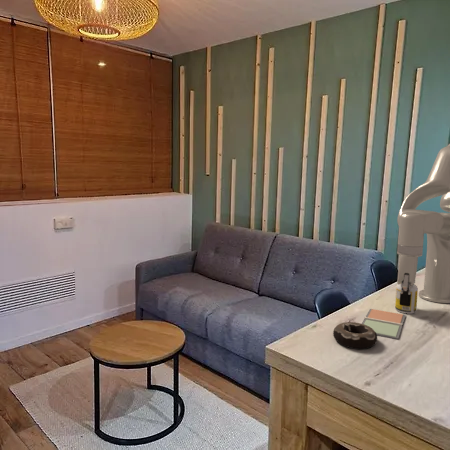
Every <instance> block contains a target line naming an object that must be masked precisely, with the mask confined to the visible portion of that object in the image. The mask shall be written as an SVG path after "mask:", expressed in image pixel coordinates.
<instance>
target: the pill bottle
mask: <svg viewBox="0 0 450 450" xmlns="http://www.w3.org/2000/svg"><path fill="white" fill-rule="evenodd" d="M415 283H416V280H415V281H414V285H413V286H411V292H410V294H411V303H410V306H403V305H400V293H401V287H402V283H401V284H399V285H398V284H396V288H395V289H396V290H395V303H394V307H395V310H396V312H398V313H400V314H406V313H407V315H408V314H410V315H411V314H415V313H416V312H417V306H418V305H417V304H418V294H419V290H418V285H416V284H415ZM403 284H404V283H403ZM408 285H410V283H408ZM408 288H409V287H408Z"/></svg>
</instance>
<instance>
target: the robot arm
mask: <svg viewBox="0 0 450 450" xmlns="http://www.w3.org/2000/svg"><path fill="white" fill-rule="evenodd" d="M440 196H441V198H440V201H439V207H440V209H441V210H442V211H444V212H437V211H432V210H424V209H417V208H418V207H419V206H420V205H421V204H423V203H424V202H426V201H428V200H431V199H435V198H437V197H440ZM396 219H397V225H398V237H397V248H396V249H397V251H396V253H397V255H400V256H399V260H398V270H397V271H398V272H397V281H396V285H399V284H401V283H402V287H401V293H400V305H403V306H410V303H411V294H410V292H411V286H413V285H415V283H414V281H415V282H416V277H417V271H418V261H419V257H422V256H423V250H424V239H425V238H424V237H425V234H426V240H427V241H426V243H427V245H426V258H425V269H424V270H425V271H424V282H423V289H422V290H418V296H419V297H420V298H421V299H422V300H425V301H429V302H433V303H438V304H450V143H448V145H447V146H444V147H442V148H440V150H439V151H438V153H437V155H436V158H435V160H434V162H433V164H432V167H431V170H430V171H429V174H428V176H427V178H426V180H425V182H423V183H422V184H421V185H419V186H417V187H416V188H415V189H413V190H412V191H411V192H409V194H408V195H407V196H406V197H405V199H404V200H403V201H402V205H401V207H400V209H399V211H398V215H397V218H396ZM403 283H404V284H403ZM408 283H410V285H408ZM408 287H409V288H408Z"/></svg>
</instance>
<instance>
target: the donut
mask: <svg viewBox="0 0 450 450" xmlns="http://www.w3.org/2000/svg"><path fill="white" fill-rule="evenodd" d="M332 336H333V337H334V340H335V341H336V342H337V343H339V344H340V345H342V346H344V347H346V348H350V349H356V350H357V349H358V350H361V349H362V350H364V349H369V348H372V347H373V346H375V345H376V343H377V342H378V335H377V334H376V332H375V331H374V330H373V329H372V328H371V327H369V326H367V325H364V324H362V322H361V323H360V322H356V321H355V322H353V321H345V322H341V323H339V324H337V325H336V326H335V327H334V329H333V332H332Z"/></svg>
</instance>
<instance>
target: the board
mask: <svg viewBox="0 0 450 450" xmlns="http://www.w3.org/2000/svg"><path fill="white" fill-rule="evenodd" d="M405 319H406V314H405V313H399V312H398V313H397V312H392V311H385V310H380V309H376V308H375V309H374V308H369V311H368V312H367V313H366V315H365V316H364V319H363V320H362V322H361V324H364V325H367V326H369V327H371V328H372V329H373V330H374V331H375V332H376V334H377V337H384V338H388V339H393V340H399V338H400V336H401V331H402V328H403V326H404V323H403V322H405ZM402 325H403V326H402Z"/></svg>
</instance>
